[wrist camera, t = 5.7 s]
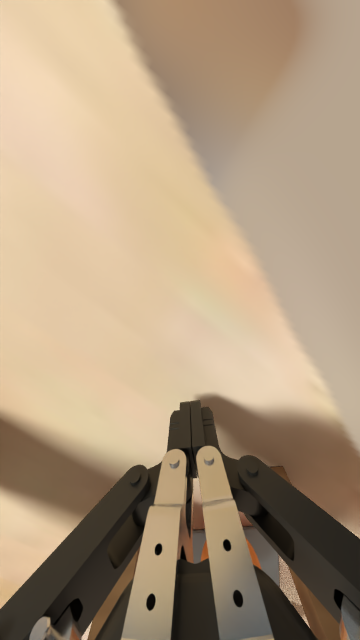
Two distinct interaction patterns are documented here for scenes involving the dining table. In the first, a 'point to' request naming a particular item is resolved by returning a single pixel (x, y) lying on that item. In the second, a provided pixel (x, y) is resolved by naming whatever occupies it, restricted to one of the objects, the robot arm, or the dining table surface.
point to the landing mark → (257, 541)
